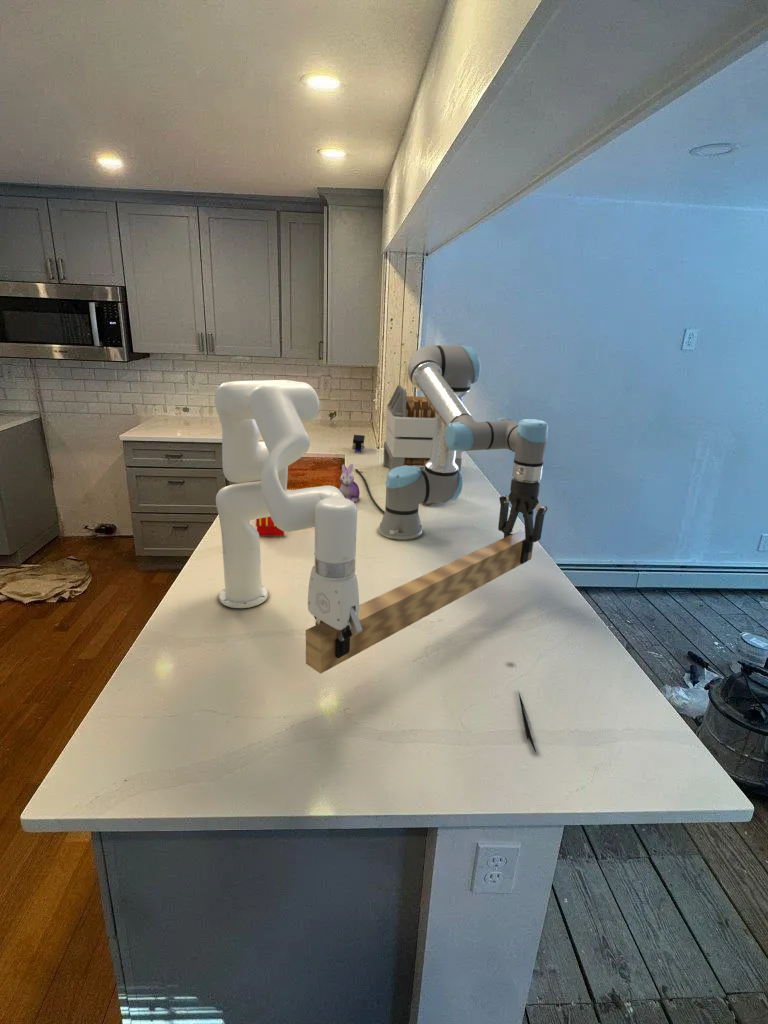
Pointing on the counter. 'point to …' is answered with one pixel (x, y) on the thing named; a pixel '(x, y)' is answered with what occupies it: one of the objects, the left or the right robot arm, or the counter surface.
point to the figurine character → (358, 442)
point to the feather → (526, 723)
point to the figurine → (349, 484)
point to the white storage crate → (409, 431)
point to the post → (415, 600)
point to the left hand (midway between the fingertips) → (333, 648)
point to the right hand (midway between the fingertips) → (515, 559)
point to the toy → (268, 527)
